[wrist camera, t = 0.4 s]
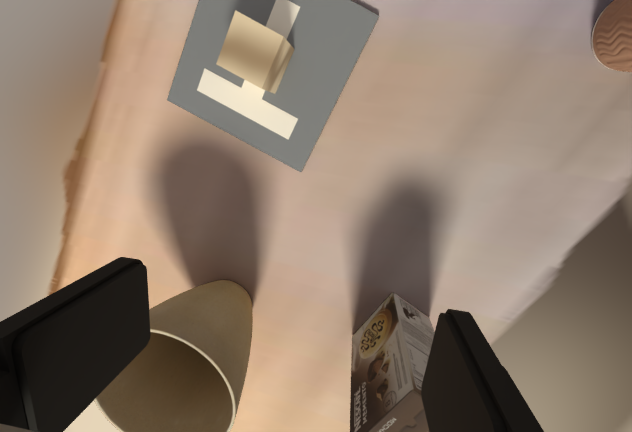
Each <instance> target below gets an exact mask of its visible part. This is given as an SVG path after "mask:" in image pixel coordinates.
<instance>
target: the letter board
mask: <svg viewBox="0 0 632 432" xmlns="http://www.w3.org/2000/svg"><path fill="white" fill-rule="evenodd" d="M235 10H236V11H238V12H240V13H241V14H243V15H245V16H247V17H249V18H251V19H252V20H254V21H256V22H258V23H260V24H262V25H263V26H265V27H267V28H269V29H271V30H273V31H274V32H276V33H278V34H280V35H282V36H284V38H285V39H286V40H287V41H288V42H289V43H290V45H291V46H292V47H293V48H294V52H293V54H292V56H291V59H290V61H289V63H288V66H287V68H286V70H285V73H284V75H283V77H282V80H281V82H280V84H279V87H278V89H277V91H276V93H275V94H274V93H271V92H269V91H266V90H263V89H261V88H259V87H257V86H256V85H254V84H252V83H250V82H248V81H246V80H244V79H243V78H241V77H239V76H237V75H235V74H233V73H232V72H230V71H228V70H226V69H224V68H222V67H221V66H219V65H217V64H216V63H217V60H218V58H219V55H220V52H221V49H222V46H223V44H224V41H225V38H226V35H227V32H228V30H229V27H230V24H231V21H232V19H233V16H234V13H235ZM378 18H379V16H378V15H377V14H375V13H373V12H371V11H369V10H367V9H366V8H364V7H362V6H360V5H358V4H357V3H355V2H353V1H351V0H199V2H198V5H197V8H196V11H195V15H194V18H193V21H192V24H191V27H190V30H189V33H188V36H187V40H186V43H185V46H184V49H183V52H182V55H181V58H180V61H179V64H178V68H177V71H176V74H175V77H174V80H173V83H172V86H171V89H170V92H169V96H168V99H167V100H168V101H170V102H172V103H173V104H175V105H177V106H179V107H181V108H183V109H185V110H186V111H188V112H190V113H192V114H194V115H196V116H197V117H199V118H201V119H203V120H205V121H207V122H209V123H210V124H212V125H214V126H216V127H218V128H220V129H222V130H223V131H225V132H227V133H229V134H231V135H233V136H235V137H236V138H238V139H240V140H242V141H244V142H246V143H247V144H249V145H251V146H253V147H255V148H257V149H259V150H260V151H262V152H264V153H266V154H268V155H270V156H272V157H273V158H275V159H277V160H279V161H281V162H283V163H285V164H286V165H288V166H290V167H292V168H294V169H296V170H297V171H299V172H302V170H303V168H304V166H305V164H306V162H307V160H308V158H309V156H310V154H311V152H312V150H313V148H314V146H315V144H316V142H317V140H318V138H319V136H320V134H321V132H322V130H323V128H324V126H325V124H326V122H327V120H328V118H329V116H330V114H331V112H332V110H333V108H334V106H335V104H336V102H337V100H338V98H339V96H340V94H341V92H342V90H343V88H344V86H345V84H346V82H347V80H348V78H349V76H350V74H351V72H352V70H353V68H354V66H355V64H356V62H357V60H358V58H359V56H360V54H361V52H362V50H363V48H364V46H365V44H366V42H367V40H368V38H369V36H370V34H371V32H372V30H373V28H374V26H375V24H376V22H377V20H378Z"/></svg>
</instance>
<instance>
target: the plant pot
mask: <svg viewBox="0 0 632 432" xmlns="http://www.w3.org/2000/svg"><path fill="white" fill-rule="evenodd" d="M149 316H150V332H151V336H150V340H149V342H148V344H147V346H146V347H145V348H144V349H143V350H142V351H141V352H140V353H139V354H138V355H137V356H136V357H135V358H134V359H133V360H132V361H131V362H130V363H129V364H128V366H127V367H126V368H125V369H124V370H123V371H122V372H121V373H120V374H119V375H118V376H117V377H116V378H115V379H114V380H113V381H112V382H111V383H110V384H109V385H108V386H107V387H106V388H105V389H104V390H103V391H102V392H101V393H100V394H99V395H98V396H97V397H96V398H95V399H94V401H95V403H96V405H97V406H98V408H99V410H100V411H101V412H102V414H103V415H104V416H105V417H106V418H107V420H108V421H109V422H110V423H111V424H112V425H113V426H114V427H115V428H117V429H118V430H119V431H120V432H230V431H231V429H232V426H233V424H234V420H235V417H236V413H237V409H238V405H239V401H240V397H241V393H242V389H243V385H244V381H245V377H246V372H247V367H248V361H249V355H250V347H251V338H252V302H251V299H250V296H249V295H248V293H247V292H246V290H245V289H244V288H243V287H241V286H240V285H239V284H237V283H235V282H232V281H229V280H218V281H214V282H210V283H207V284H204V285H201V286H198V287H195V288H193V289H190V290H188V291H185V292H183V293H181V294H179V295H177V296H174V297H172V298H170V299H168V300H166V301H164V302H162V303H160V304H159V305H157V306H155V307H153V308H151V309H150V310H149Z"/></svg>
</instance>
